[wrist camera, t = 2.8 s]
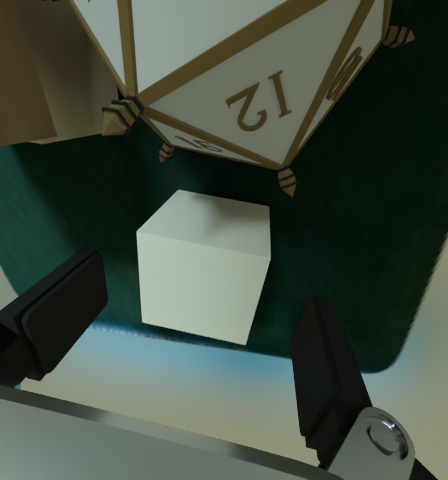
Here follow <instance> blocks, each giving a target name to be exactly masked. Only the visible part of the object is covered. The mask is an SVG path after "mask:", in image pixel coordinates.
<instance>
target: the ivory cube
mask: <svg viewBox="0 0 448 480" xmlns="http://www.w3.org/2000/svg"><path fill="white" fill-rule="evenodd" d="M136 233H137V248H138V264H139V279H140V294H141V310H142V322H143V323H148V324H152V325H157V326H161V327H166V328H170V329H175V330H179V331H184V332H189V333H193V334H198V335H202V336H207V337H211V338H216V339H220V340H225V341H229V342H234V343H238V344H243V345H246V342H247V338H248V335H249V332H250V328H251V325H252V321H253V318H254V314H255V311H256V307H257V304H258V301H259V297H260V294H261V290H262V287H263V283H264V280H265V277H266V273H267V270H268V266H269V263H270V259H271V248H270V219H269V206H264V205H259V204H253V203H248V202H242V201H237V200H232V199H226V198H221V197H215V196H210V195H204V194H199V193H194V192H188V191H183V190H178V191H177V192H176V193H175V194H174V195H173V196H172V197H171V198H170V199H169V200H168V201H167V202H166V203H165V204H164V205H163V206H162V207H161V208H160V209H159V210H158V211H157V212H156V213H155V214H154V215H153V216H152V217H151V218H150V219H149V220H148V221H147V222H146V223H145V224H144V225H143V226H141V227H140V228H139V229H138V230H137V231H136Z"/></svg>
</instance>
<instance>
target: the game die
mask: <svg viewBox="0 0 448 480" xmlns="http://www.w3.org/2000/svg"><path fill="white" fill-rule="evenodd" d="M42 1H46V0H42ZM52 1H59V0H52ZM67 1H68V3H69V5H70V6H71V8H72V10H73V11H74V13H75V15H76V17H77V18H78V20H79V22H80V23H81V25H82V27H83V28H84V30H85V32H86V33H87V35H88V37H89V38H90V40H91V42H92V44H93V45H94V47H95V49H96V50H97V52H98V54H99V55H100V57H101V59H102V60H103V62H104V64H105V66H106V67H107V69H108V71H109V72H110V74H111V76H112V77H113V79H114V81H115V82H116V84H117V86H118V87H119V89H120V91H121V93H122V94H123V96H124V98H125V99H124V100H121V101H119V100H112V101H111V103H112V105H111V106H109V107H102V108H101V109H102V111H103V114H104V118H103V130H102V136H108V135H123V136H124V137H126V136H127V134H128V133H129V131H130V130H131V129H133V127H134V126H135V125H136V123H137V122H138V120H139V119H138V116H140V117H141V118H142V119H143V120H144V121H145V122H146V123H147V124H148V125H149V126H150V127H151V128H152V129H153V130H154V131H155V132H156V133H157V134H158V135H159V136H160V137H161V138H162V139H163V140H164V141H165V143H164V144H163V143H162V145H161V148H159V151H158V155H159V157H160V161H161V162H163V161H165V160H168V159H172V154H174V151H173V149H174V147H177V148H182V149H186V150H191V151H195V152H199V153H204V154H208V155H213V156H217V157H222V158H226V159H230V160H235V161H239V162H244V163H248V164H252V165H257V166H261V167H266V168H270V169H275V170H277V171H278V176H279V179H277V182H278V181H279V183H280V187H279V189H282V190H284V191H285V192H286V193H288V194H289V195H290V196H292V197H293V194H294V191H295V187H296V184H297V183H298V181H296V179H295V177H294V175H296V174H295V173H293V172H292V171H291V170H290V168H289V165H290V163H291V162H292V161H293V159H294V158H295V157H296V155H297V154H298V153H299V151H300V150H301V149H302V147H303V146H304V145H305V143H306V142H307V141H308V139H309V138H310V137H311V135H312V134H313V133H314V131H315V130H316V129H317V127H318V126H319V125H320V123H321V122H322V121H323V119H324V118H325V117H326V115H327V114H328V113H329V111H330V110H331V109H332V107H333V106H334V105H335V104H336V102H337V101H338V100H339V98H340V97H341V96H342V94H343V93H344V92H345V90H346V89H347V88H348V86H349V85H350V84H351V82H352V81H353V80H354V78H355V77H356V76H357V74H358V73H359V72H360V70H361V69H362V68H363V66H364V65H365V64H366V62H367V61H368V60H369V58H370V57H371V56H372V54H373V53H374V52H375V50H376V49H377V48H378V46H379V45H380V44H381V43H383V44H384V45H386V49H388V48H390V47H392V48H393V50H394V51H395V50H397V49H398V48H400V47H401V46H402V45H404V44H406V43H408V42H410V41H412V40H414V39H415V37H414V35H413V33H412V31H411V27H412V26H410V25H407V24H403V25H400V24H397V23H394V25H393V26H389V20H390V13H391V6H392V0H67Z"/></svg>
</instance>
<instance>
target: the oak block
mask: <svg viewBox="0 0 448 480" xmlns="http://www.w3.org/2000/svg"><path fill="white" fill-rule="evenodd" d="M15 4H16V7H17V10H18V13H19V16H20V19H21V22H22V26H23V29H24V32H25V35H26V38H27V41H28V45H29V48H30V51H31V54H32V57H33V60H34V64H35V67H36V70H37V73H38V76H39V79H40V82H41V86H42V89H43V92H44V95H45V98H46V101H47V105H48V108H49V111H50V114H51V117H52V120H53V124H54V127H55V130H56V133H57V136H58V137H53V138H47V139H41V140H35V141H29V142H32V143H38V144H46V143H51V142H57V141H62V140H68V139H73V138H79V137H84V136H90V135H95V134H100V133H102V130H103V118H104V114H103V111H102V109H101V108H102V107H109V106H111V105H112V103H111V101H112V100H118V89H117V84H116V82H115V81H114V79H113V77H112V76H111V74H110V72H109V71H108V69H107V67H106V66H105V64H104V62H103V60H102V59H101V57H100V55H99V54H98V52H97V50H96V49H95V47H94V45H93V44H92V42H91V40H90V38H89V37H88V35H87V33H86V32H85V30H84V28H83V27H82V25H81V23H80V22H79V20H78V18H77V17H76V15H75V13H74V11H73V10H72V8H71V6H70V5H69V3H68V1H67V0H59V1H52V0H46V1H42V0H15Z"/></svg>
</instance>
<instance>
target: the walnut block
mask: <svg viewBox="0 0 448 480" xmlns="http://www.w3.org/2000/svg"><path fill="white" fill-rule="evenodd" d="M53 137H58V136H57V133H56V130H55V127H54V124H53V120H52V117H51V114H50V111H49V108H48V105H47V101H46V98H45V95H44V92H43V89H42V86H41V82H40V79H39V76H38V73H37V70H36V67H35V64H34V60H33V57H32V54H31V51H30V48H29V45H28V41H27V38H26V35H25V32H24V29H23V26H22V22H21V19H20V16H19V13H18V10H17V7H16V4H15V0H0V146H4V145H10V144H16V143H22V142H29V141H35V140H41V139H47V138H53Z"/></svg>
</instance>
